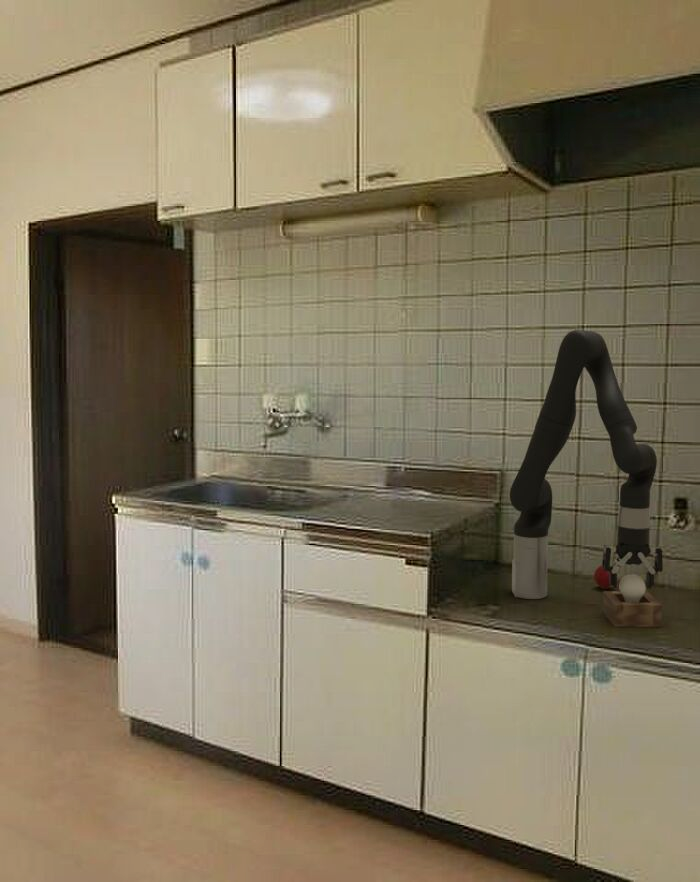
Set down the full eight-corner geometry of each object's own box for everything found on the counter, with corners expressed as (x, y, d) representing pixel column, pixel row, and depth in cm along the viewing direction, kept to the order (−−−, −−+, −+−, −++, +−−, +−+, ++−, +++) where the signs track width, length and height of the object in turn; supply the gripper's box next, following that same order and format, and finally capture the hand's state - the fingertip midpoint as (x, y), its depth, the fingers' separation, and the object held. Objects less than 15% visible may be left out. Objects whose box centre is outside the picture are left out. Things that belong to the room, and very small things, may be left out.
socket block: (614, 626, 193) (615, 604, 193) (602, 611, 204) (603, 591, 204) (661, 627, 193) (661, 605, 192) (646, 612, 204) (647, 591, 203)
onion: (611, 593, 220) (611, 565, 219) (590, 590, 224) (591, 562, 223) (618, 588, 225) (618, 561, 224) (598, 585, 228) (598, 558, 228)
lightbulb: (644, 622, 195) (646, 579, 193) (617, 619, 197) (619, 576, 196) (644, 614, 200) (646, 572, 199) (618, 612, 203) (619, 570, 201)
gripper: (608, 527, 193) (606, 591, 194) (668, 527, 192) (665, 592, 194) (600, 520, 200) (598, 582, 202) (658, 521, 199) (655, 583, 201)
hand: (631, 587), depth 198 cm, fingers open, 8 cm apart
